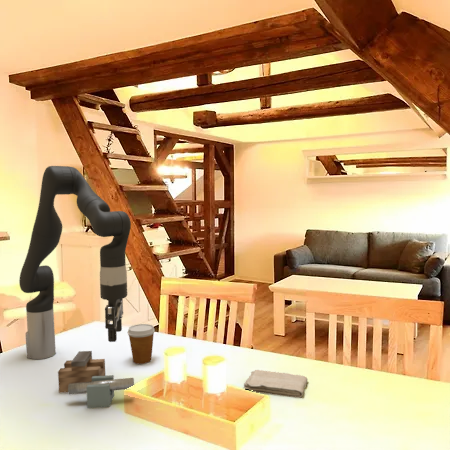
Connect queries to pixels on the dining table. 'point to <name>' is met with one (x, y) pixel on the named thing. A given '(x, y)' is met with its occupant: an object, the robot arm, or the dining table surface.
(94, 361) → the walnut bearing block
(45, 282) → the robot arm
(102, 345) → the dining table surface
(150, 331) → the disposable coffee cup
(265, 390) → the washcloth
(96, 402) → the slate V-block
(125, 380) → the steel axle
